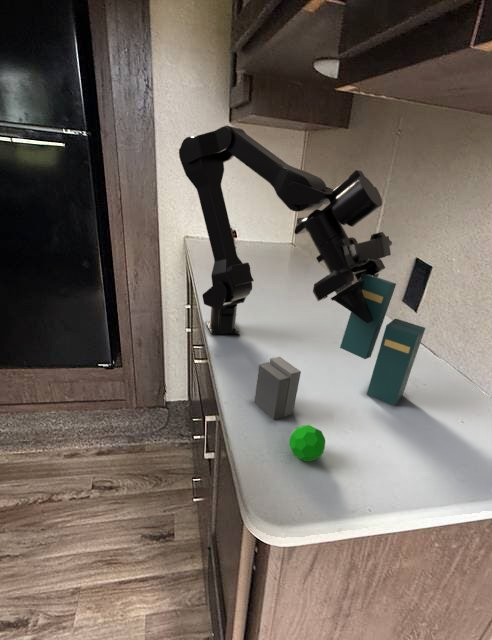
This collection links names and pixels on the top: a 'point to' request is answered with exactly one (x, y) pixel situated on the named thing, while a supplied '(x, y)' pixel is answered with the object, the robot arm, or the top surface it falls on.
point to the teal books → (395, 360)
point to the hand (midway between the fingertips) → (373, 319)
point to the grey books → (277, 387)
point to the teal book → (377, 297)
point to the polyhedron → (307, 443)
